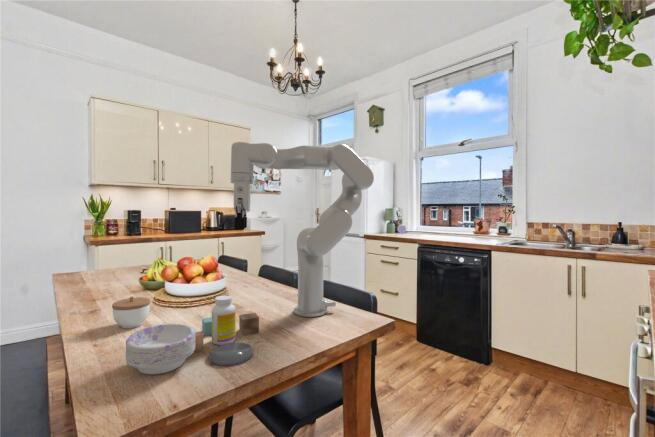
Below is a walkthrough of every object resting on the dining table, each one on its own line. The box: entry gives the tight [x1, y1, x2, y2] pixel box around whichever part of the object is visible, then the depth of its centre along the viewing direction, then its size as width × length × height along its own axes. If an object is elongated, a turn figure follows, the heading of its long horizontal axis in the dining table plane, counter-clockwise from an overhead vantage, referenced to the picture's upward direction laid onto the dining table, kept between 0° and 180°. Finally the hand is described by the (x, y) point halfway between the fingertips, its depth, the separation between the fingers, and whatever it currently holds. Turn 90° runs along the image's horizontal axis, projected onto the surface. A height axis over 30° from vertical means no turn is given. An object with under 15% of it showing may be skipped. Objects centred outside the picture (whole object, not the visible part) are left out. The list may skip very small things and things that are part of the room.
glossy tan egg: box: [193, 331, 204, 353], centre depth 88 cm, size 4×4×4 cm
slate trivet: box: [208, 341, 254, 367], centre depth 84 cm, size 11×11×1 cm
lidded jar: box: [111, 296, 151, 329], centre depth 105 cm, size 11×11×9 cm
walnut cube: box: [238, 312, 260, 337], centre depth 100 cm, size 5×5×5 cm
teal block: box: [201, 316, 212, 336], centre depth 101 cm, size 6×4×4 cm, turn 122°
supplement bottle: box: [211, 295, 237, 346], centre depth 93 cm, size 7×7×13 cm
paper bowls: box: [125, 322, 197, 375], centre depth 79 cm, size 15×15×8 cm
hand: (240, 228), depth 110 cm, fingers open, 9 cm apart
